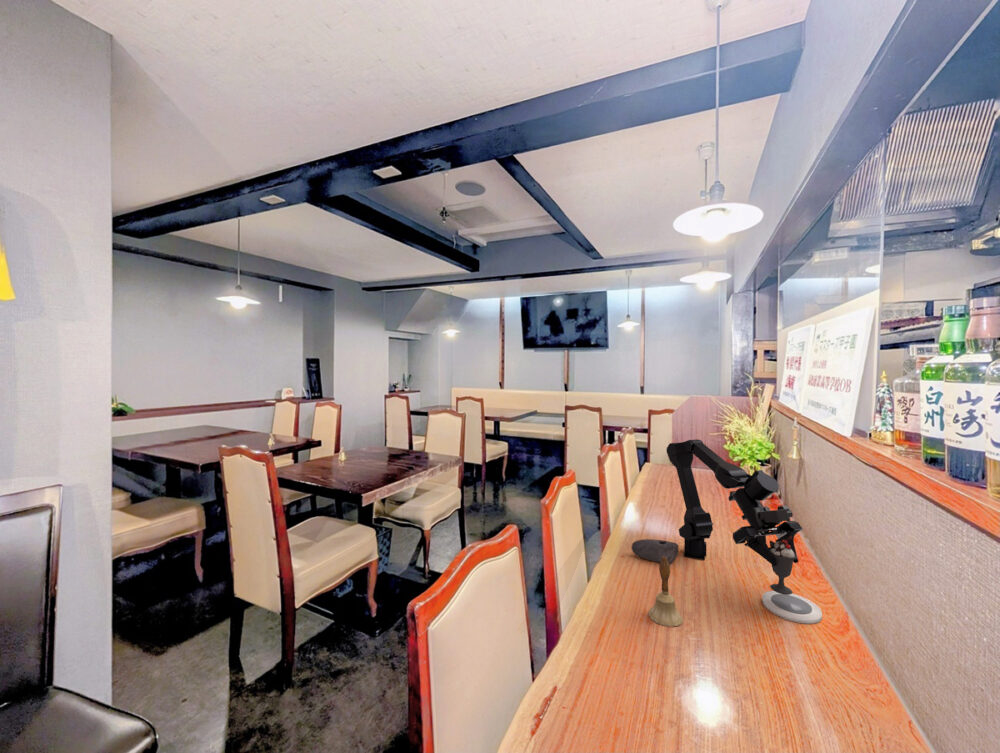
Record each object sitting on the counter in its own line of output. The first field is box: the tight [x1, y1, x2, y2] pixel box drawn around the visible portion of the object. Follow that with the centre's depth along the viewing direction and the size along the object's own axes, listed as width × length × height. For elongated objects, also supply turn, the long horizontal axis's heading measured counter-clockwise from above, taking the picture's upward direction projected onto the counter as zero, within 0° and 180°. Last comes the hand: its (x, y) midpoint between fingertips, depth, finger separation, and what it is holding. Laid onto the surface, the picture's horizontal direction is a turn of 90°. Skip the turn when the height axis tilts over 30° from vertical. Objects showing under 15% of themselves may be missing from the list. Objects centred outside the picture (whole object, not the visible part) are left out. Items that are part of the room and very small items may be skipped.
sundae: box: [768, 536, 798, 595], centre depth 107 cm, size 7×7×15 cm
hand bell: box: [648, 556, 684, 627], centre depth 105 cm, size 8×8×16 cm
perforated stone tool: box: [631, 538, 680, 564], centre depth 136 cm, size 15×5×7 cm, turn 62°
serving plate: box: [761, 590, 823, 625], centre depth 108 cm, size 13×13×1 cm
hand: (786, 564), depth 106 cm, fingers closed on sundae, 6 cm apart
